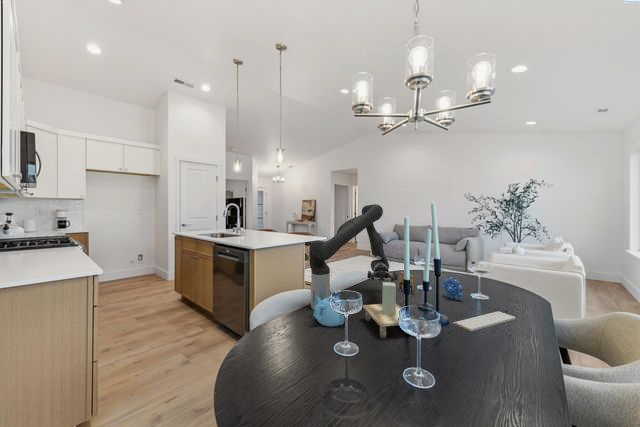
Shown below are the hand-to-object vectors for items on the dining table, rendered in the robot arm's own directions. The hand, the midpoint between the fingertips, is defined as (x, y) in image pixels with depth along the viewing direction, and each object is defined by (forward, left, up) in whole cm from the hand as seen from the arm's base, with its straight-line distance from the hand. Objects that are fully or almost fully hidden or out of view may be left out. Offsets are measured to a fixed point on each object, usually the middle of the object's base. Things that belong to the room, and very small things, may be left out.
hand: (382, 279), depth 126 cm
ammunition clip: (+28, +29, -17) cm, 44 cm away
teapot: (-25, -3, -17) cm, 30 cm away
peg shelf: (-3, -13, -17) cm, 21 cm away
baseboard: (+41, -14, -17) cm, 47 cm away
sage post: (-3, -13, -11) cm, 17 cm away
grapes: (+46, +13, -17) cm, 51 cm away
